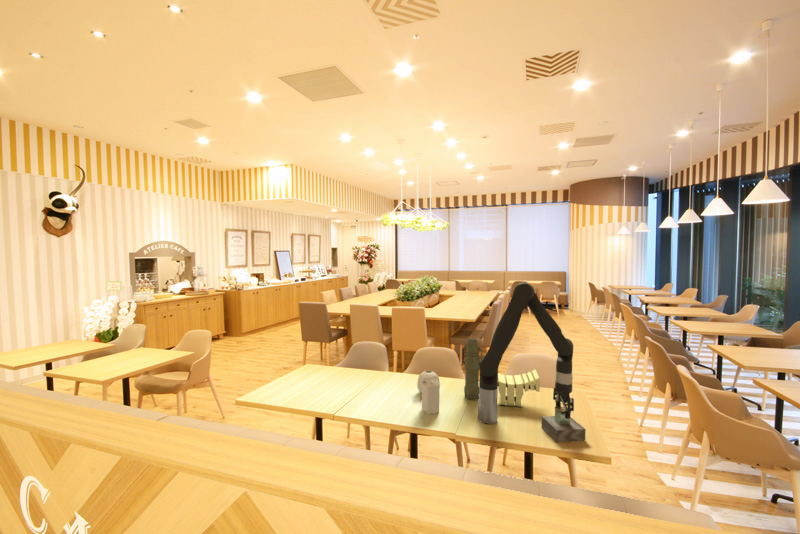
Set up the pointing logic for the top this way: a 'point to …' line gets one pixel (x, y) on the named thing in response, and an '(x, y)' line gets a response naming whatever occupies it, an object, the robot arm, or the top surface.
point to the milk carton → (430, 395)
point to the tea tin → (561, 416)
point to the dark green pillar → (471, 369)
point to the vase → (422, 378)
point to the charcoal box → (563, 430)
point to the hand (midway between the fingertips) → (562, 414)
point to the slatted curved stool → (516, 387)
